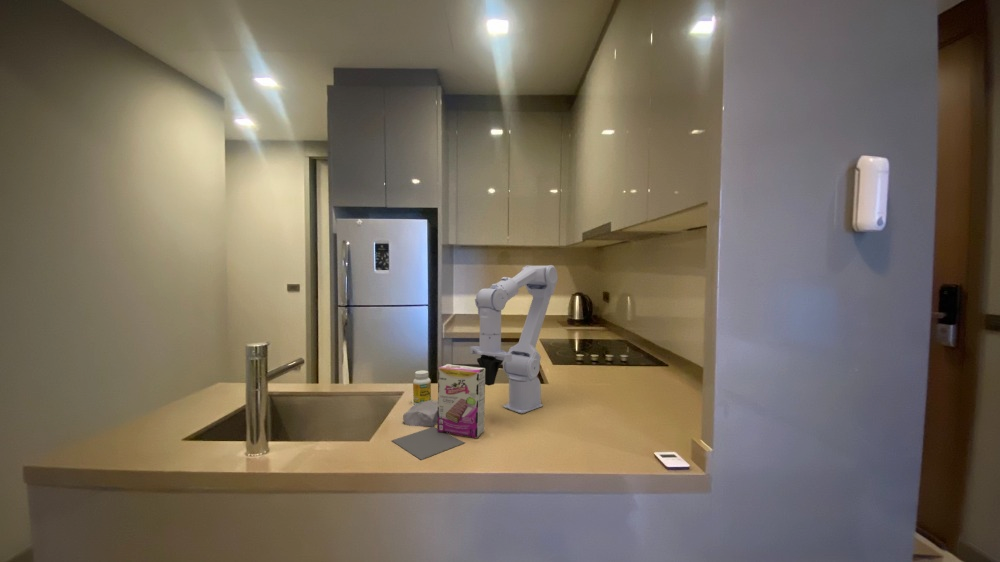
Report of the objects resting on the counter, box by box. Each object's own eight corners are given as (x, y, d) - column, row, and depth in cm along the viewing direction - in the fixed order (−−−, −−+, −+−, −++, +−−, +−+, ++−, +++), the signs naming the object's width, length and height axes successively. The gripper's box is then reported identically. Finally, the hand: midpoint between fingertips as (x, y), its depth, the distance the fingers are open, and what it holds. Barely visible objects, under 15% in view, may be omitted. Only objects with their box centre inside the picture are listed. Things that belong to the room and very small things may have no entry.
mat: (433, 427, 103) (433, 426, 103) (464, 443, 94) (464, 442, 94) (391, 441, 95) (391, 440, 95) (420, 460, 86) (420, 459, 86)
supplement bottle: (424, 398, 126) (424, 368, 126) (434, 402, 122) (434, 371, 122) (409, 402, 122) (409, 371, 122) (419, 407, 119) (419, 375, 118)
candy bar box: (436, 432, 99) (437, 367, 99) (445, 425, 104) (446, 363, 104) (477, 439, 96) (478, 371, 96) (485, 431, 100) (486, 367, 100)
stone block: (401, 432, 105) (436, 427, 103) (397, 414, 105) (432, 409, 103) (419, 417, 117) (450, 413, 115) (416, 401, 117) (447, 396, 115)
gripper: (461, 331, 108) (461, 381, 108) (498, 338, 98) (497, 393, 98) (481, 329, 113) (480, 377, 113) (517, 335, 102) (517, 388, 103)
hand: (489, 384), depth 106 cm, fingers closed
